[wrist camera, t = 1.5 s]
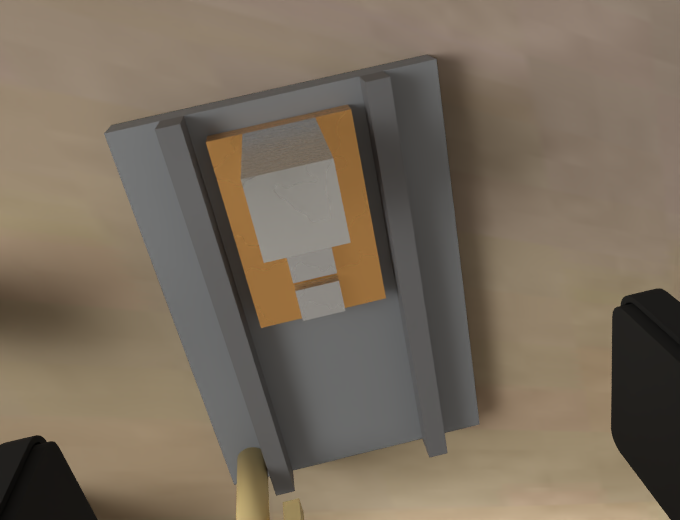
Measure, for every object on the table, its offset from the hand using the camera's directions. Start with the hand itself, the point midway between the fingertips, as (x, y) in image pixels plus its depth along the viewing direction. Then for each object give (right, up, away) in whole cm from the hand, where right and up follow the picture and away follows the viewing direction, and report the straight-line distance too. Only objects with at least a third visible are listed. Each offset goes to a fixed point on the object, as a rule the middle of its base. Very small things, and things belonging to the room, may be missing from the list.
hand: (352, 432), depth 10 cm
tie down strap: (-2, +5, +17) cm, 18 cm away
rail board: (-1, +1, +21) cm, 21 cm away
